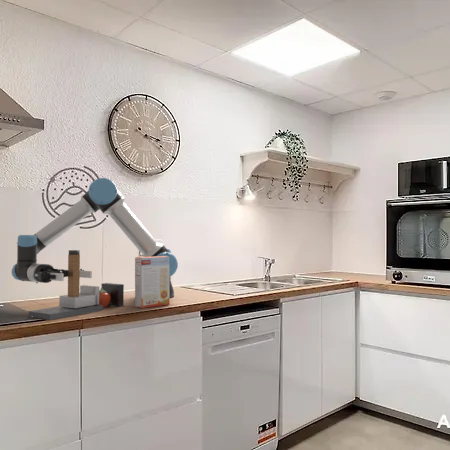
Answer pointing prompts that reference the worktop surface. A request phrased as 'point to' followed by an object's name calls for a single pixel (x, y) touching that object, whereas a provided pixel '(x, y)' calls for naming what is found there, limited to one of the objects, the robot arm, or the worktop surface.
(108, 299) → the tomato
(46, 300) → the worktop surface
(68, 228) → the robot arm
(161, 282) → the cracker box
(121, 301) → the press bench
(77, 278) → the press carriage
